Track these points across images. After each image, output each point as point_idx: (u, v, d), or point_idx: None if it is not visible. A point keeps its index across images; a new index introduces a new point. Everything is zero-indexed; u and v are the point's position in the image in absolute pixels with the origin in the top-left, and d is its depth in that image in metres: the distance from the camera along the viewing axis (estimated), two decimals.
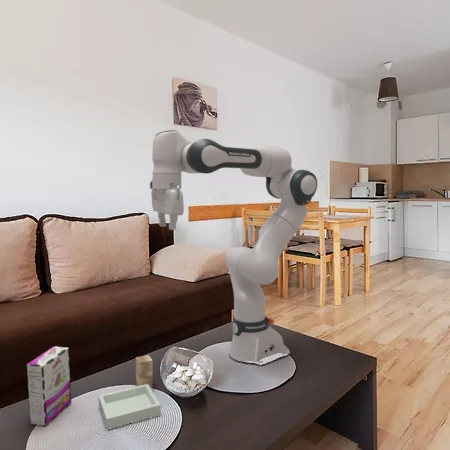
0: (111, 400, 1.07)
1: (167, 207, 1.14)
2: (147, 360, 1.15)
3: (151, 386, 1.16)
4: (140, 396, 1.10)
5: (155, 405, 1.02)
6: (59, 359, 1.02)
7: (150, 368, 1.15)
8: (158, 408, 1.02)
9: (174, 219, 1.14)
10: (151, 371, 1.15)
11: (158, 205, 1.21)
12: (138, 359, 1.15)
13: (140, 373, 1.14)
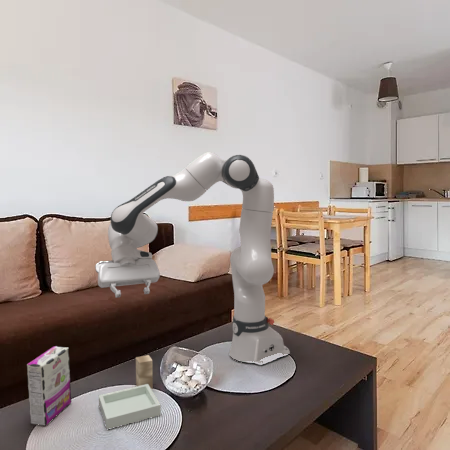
0: (111, 400, 1.07)
1: None
2: (147, 360, 1.15)
3: (151, 386, 1.16)
4: (140, 396, 1.10)
5: (155, 405, 1.02)
6: (59, 359, 1.02)
7: (150, 368, 1.15)
8: (158, 408, 1.02)
9: (111, 288, 1.23)
10: (151, 371, 1.15)
11: None
12: (138, 359, 1.15)
13: (140, 373, 1.14)
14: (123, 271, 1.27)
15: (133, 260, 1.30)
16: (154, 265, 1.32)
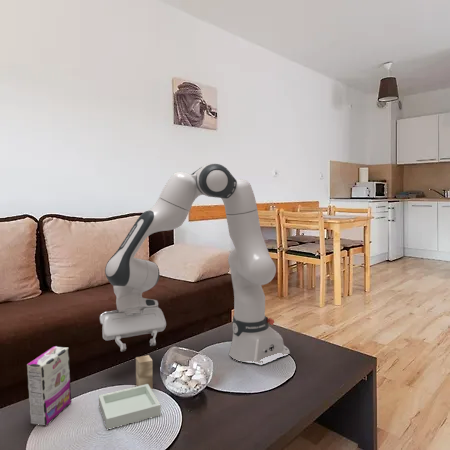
0: (111, 400, 1.07)
1: None
2: (147, 360, 1.15)
3: (151, 386, 1.16)
4: (140, 396, 1.10)
5: (155, 405, 1.02)
6: (59, 359, 1.02)
7: (150, 368, 1.15)
8: (158, 408, 1.02)
9: (116, 341, 1.19)
10: (151, 371, 1.15)
11: None
12: (138, 359, 1.15)
13: (140, 373, 1.14)
14: (128, 322, 1.23)
15: (138, 309, 1.26)
16: (160, 314, 1.28)
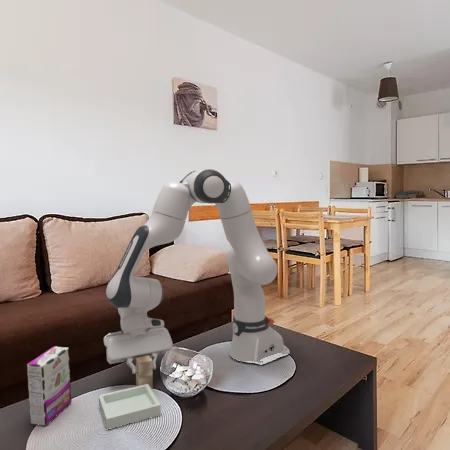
0: (111, 400, 1.07)
1: None
2: (147, 360, 1.15)
3: (151, 386, 1.16)
4: (140, 396, 1.10)
5: (155, 405, 1.02)
6: (59, 359, 1.02)
7: (150, 368, 1.15)
8: (158, 408, 1.02)
9: (128, 363, 1.15)
10: (151, 371, 1.15)
11: None
12: (138, 359, 1.15)
13: (140, 373, 1.14)
14: (134, 344, 1.18)
15: (144, 330, 1.21)
16: (166, 334, 1.23)
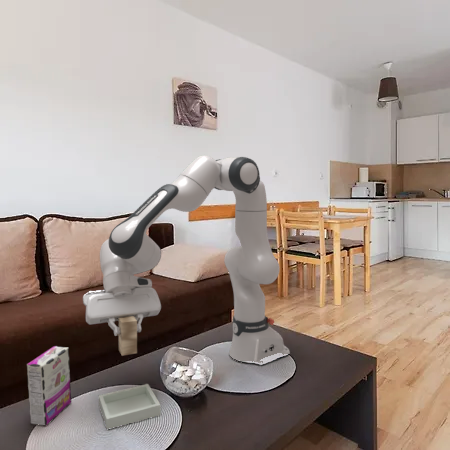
0: (111, 400, 1.07)
1: None
2: (131, 320, 1.02)
3: (135, 350, 1.03)
4: (140, 396, 1.10)
5: (155, 405, 1.02)
6: (59, 359, 1.02)
7: (134, 329, 1.02)
8: (158, 408, 1.02)
9: (109, 324, 1.02)
10: (135, 333, 1.02)
11: None
12: (121, 319, 1.02)
13: (123, 334, 1.01)
14: (117, 304, 1.05)
15: (129, 289, 1.08)
16: (154, 295, 1.10)
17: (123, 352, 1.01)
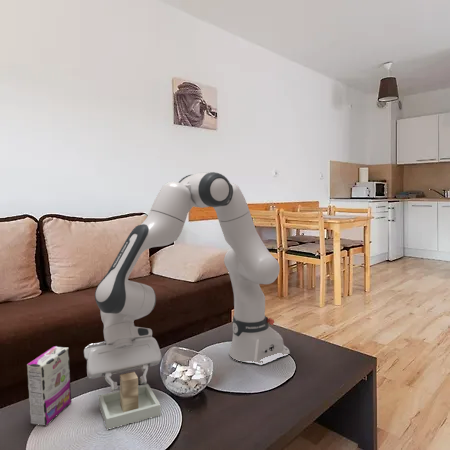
0: (111, 400, 1.07)
1: None
2: (132, 378, 1.03)
3: (137, 406, 1.04)
4: (140, 396, 1.10)
5: (155, 405, 1.02)
6: (59, 359, 1.02)
7: (135, 387, 1.03)
8: (158, 408, 1.02)
9: (106, 379, 1.02)
10: (137, 390, 1.03)
11: None
12: (122, 376, 1.03)
13: (124, 392, 1.01)
14: (118, 356, 1.06)
15: (129, 341, 1.09)
16: (155, 345, 1.11)
17: (125, 410, 1.02)
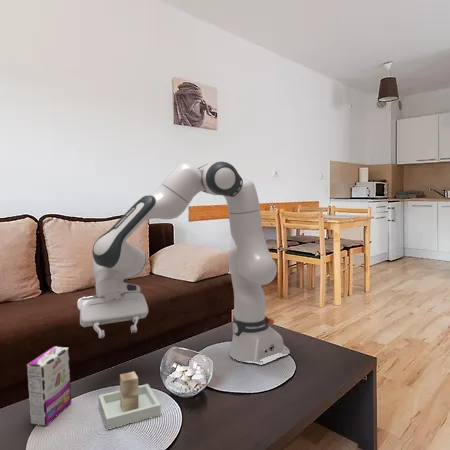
0: (111, 400, 1.07)
1: None
2: (132, 378, 1.03)
3: (137, 407, 1.04)
4: (140, 396, 1.10)
5: (155, 405, 1.02)
6: (59, 359, 1.02)
7: (135, 387, 1.03)
8: (158, 408, 1.02)
9: (94, 327, 1.12)
10: (137, 390, 1.03)
11: None
12: (122, 376, 1.03)
13: (124, 392, 1.01)
14: (108, 308, 1.16)
15: (119, 295, 1.19)
16: (142, 299, 1.21)
17: (125, 410, 1.02)
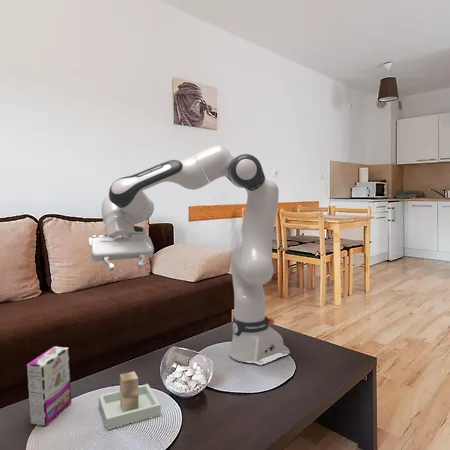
0: (111, 400, 1.07)
1: None
2: (132, 378, 1.03)
3: (137, 407, 1.04)
4: (140, 396, 1.10)
5: (155, 405, 1.02)
6: (59, 359, 1.02)
7: (135, 387, 1.03)
8: (158, 408, 1.02)
9: (104, 261, 1.22)
10: (137, 390, 1.03)
11: None
12: (122, 376, 1.03)
13: (124, 392, 1.01)
14: (116, 245, 1.25)
15: (127, 235, 1.28)
16: (148, 240, 1.30)
17: (125, 410, 1.02)
